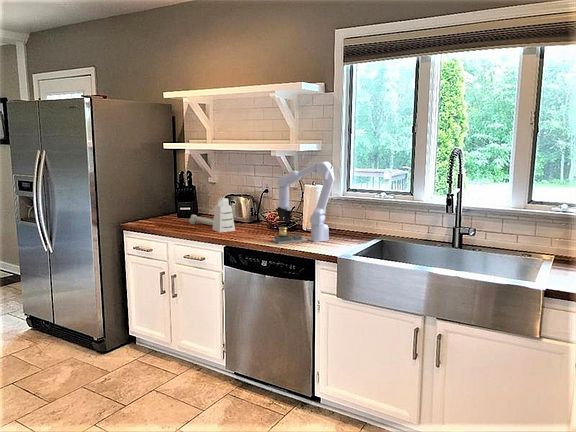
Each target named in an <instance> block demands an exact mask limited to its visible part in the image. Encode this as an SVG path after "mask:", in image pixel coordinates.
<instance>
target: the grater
mask: <svg viewBox="0 0 576 432" xmlns="http://www.w3.org/2000/svg"><path fill="white" fill-rule="evenodd" d="M229 200H230V199H229V198H228V197H227V198H225V197H218V199H217V204H215V205H214V212H213V214H214V215H213V219H212V220H213V226H212V231H215V232H217V233H226V232H236V228H235V221H234V220H235V219H234V214H233V208H232V205H230V204H229Z"/></svg>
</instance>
